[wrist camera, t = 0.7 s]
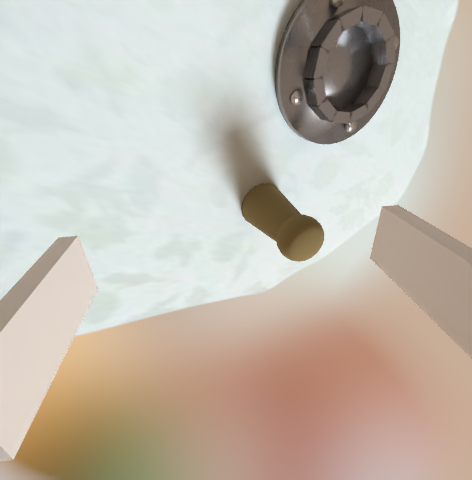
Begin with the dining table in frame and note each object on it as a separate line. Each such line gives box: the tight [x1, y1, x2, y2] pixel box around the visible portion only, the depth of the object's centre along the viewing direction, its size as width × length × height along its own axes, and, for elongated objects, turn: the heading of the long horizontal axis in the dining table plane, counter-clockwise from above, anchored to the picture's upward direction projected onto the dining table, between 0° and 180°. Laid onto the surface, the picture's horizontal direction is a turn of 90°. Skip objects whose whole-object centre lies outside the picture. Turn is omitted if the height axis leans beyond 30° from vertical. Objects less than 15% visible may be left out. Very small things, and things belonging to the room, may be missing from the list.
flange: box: [275, 0, 400, 144], centre depth 30 cm, size 16×16×3 cm
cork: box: [242, 184, 324, 261], centre depth 33 cm, size 6×6×11 cm
